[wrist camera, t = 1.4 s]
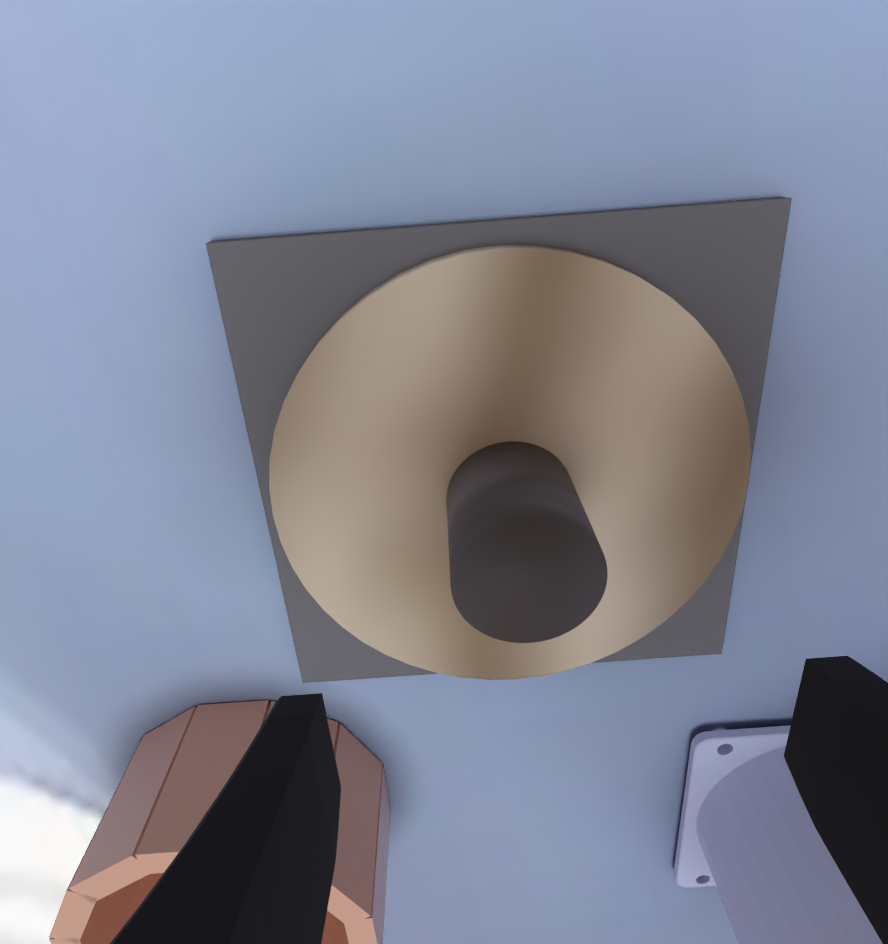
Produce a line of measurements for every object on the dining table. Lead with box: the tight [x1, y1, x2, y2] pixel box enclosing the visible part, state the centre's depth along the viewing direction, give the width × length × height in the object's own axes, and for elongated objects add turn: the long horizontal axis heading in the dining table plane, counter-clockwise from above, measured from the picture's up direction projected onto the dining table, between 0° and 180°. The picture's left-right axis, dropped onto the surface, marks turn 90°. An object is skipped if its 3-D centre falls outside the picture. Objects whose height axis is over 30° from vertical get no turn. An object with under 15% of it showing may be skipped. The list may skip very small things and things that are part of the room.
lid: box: [269, 244, 751, 680], centre depth 15 cm, size 12×12×4 cm
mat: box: [206, 197, 792, 683], centre depth 17 cm, size 13×13×1 cm
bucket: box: [49, 700, 390, 944], centre depth 21 cm, size 9×9×5 cm
